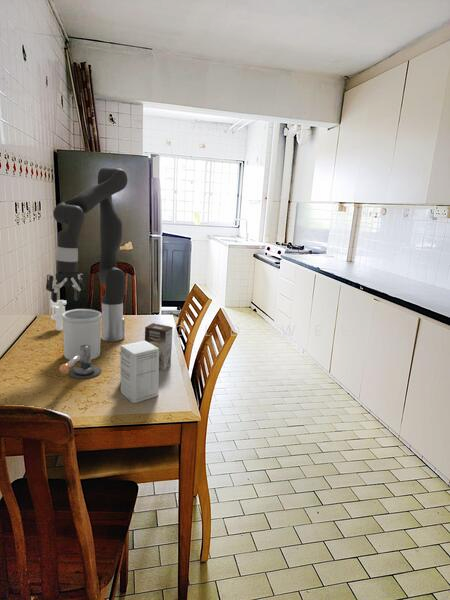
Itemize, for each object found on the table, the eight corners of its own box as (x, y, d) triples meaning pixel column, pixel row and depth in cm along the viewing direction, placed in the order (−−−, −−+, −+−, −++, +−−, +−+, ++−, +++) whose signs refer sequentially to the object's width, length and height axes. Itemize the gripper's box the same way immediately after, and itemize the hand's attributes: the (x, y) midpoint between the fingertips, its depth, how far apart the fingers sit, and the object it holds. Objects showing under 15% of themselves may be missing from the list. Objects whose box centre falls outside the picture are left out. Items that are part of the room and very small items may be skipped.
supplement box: (145, 385, 135) (146, 339, 131) (159, 396, 128) (160, 347, 125) (119, 392, 129) (119, 344, 125) (132, 404, 122) (133, 353, 118)
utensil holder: (109, 353, 162) (109, 312, 158) (83, 364, 149) (82, 320, 145) (82, 346, 168) (81, 306, 164) (54, 356, 155) (53, 314, 151)
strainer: (49, 328, 188) (48, 298, 185) (65, 326, 192) (64, 297, 189) (53, 332, 183) (52, 301, 179) (69, 330, 187) (68, 300, 183)
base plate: (77, 365, 148) (77, 364, 148) (105, 367, 148) (105, 366, 147) (64, 377, 137) (64, 376, 137) (95, 379, 137) (95, 378, 137)
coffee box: (143, 366, 151) (143, 326, 147) (151, 360, 157) (152, 322, 153) (164, 370, 148) (165, 330, 145) (171, 365, 154) (173, 326, 151)
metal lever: (79, 367, 144) (78, 343, 142) (97, 368, 144) (97, 345, 142) (52, 392, 125) (51, 364, 123) (74, 393, 124) (73, 366, 122)
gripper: (53, 261, 138) (51, 305, 141) (90, 260, 148) (87, 301, 152) (43, 257, 142) (42, 300, 146) (80, 257, 153) (78, 297, 157)
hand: (65, 301), depth 149 cm, fingers open, 8 cm apart
